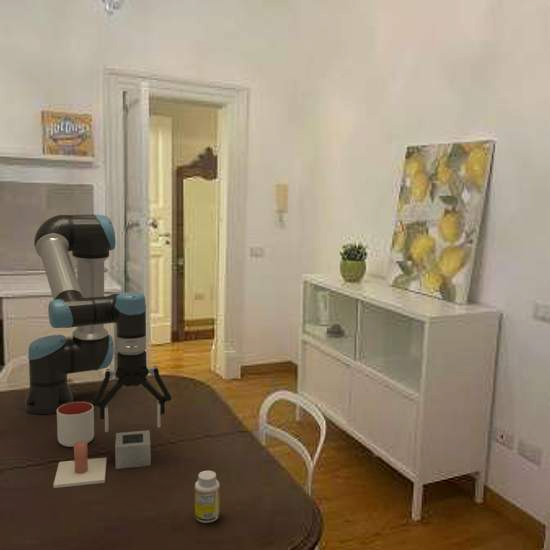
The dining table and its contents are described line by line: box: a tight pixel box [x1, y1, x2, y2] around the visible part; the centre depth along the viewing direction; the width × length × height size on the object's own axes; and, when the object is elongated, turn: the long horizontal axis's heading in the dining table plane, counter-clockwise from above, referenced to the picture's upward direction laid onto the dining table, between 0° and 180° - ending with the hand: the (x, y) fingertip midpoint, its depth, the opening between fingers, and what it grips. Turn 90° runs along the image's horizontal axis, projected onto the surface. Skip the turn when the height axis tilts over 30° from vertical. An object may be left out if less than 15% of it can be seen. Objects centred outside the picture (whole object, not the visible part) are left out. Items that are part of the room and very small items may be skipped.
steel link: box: [114, 429, 152, 470], centre depth 149 cm, size 9×9×6 cm
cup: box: [56, 401, 95, 448], centre depth 159 cm, size 10×10×10 cm
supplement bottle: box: [194, 470, 221, 524], centre depth 124 cm, size 6×6×10 cm
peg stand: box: [53, 441, 107, 489], centre depth 141 cm, size 12×12×8 cm
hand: (133, 427), depth 148 cm, fingers open, 13 cm apart
